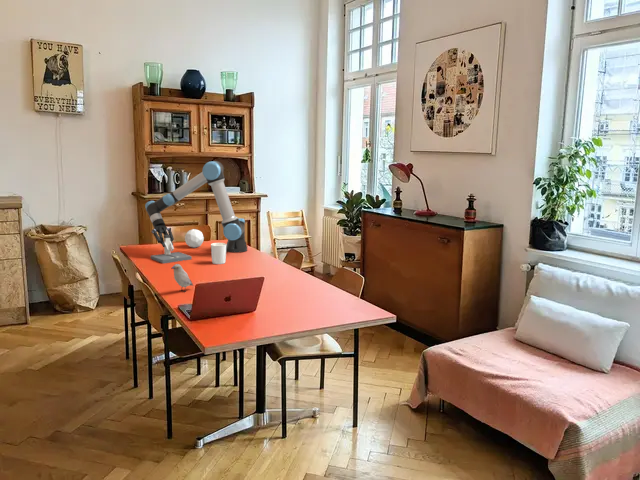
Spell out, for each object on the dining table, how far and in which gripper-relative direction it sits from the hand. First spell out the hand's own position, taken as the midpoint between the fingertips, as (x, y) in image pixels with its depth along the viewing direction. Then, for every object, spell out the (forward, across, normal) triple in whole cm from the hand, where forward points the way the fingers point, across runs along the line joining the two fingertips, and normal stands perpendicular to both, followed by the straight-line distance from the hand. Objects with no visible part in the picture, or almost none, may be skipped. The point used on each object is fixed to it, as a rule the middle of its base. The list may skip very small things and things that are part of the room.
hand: (170, 250), depth 346 cm
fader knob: (0, 0, -5) cm, 5 cm away
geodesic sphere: (-13, -31, -21) cm, 40 cm away
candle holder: (+24, -19, +16) cm, 34 cm away
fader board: (+5, 0, -3) cm, 6 cm away
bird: (+55, +30, +47) cm, 78 cm away
